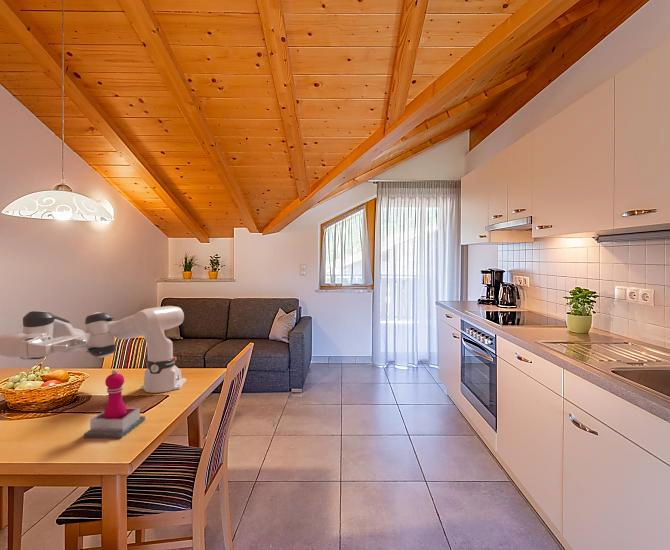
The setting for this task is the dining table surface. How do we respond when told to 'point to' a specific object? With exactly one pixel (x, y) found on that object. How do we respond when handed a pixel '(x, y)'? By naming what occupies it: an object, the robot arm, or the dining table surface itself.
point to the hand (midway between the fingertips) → (77, 344)
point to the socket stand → (114, 425)
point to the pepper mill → (115, 397)
